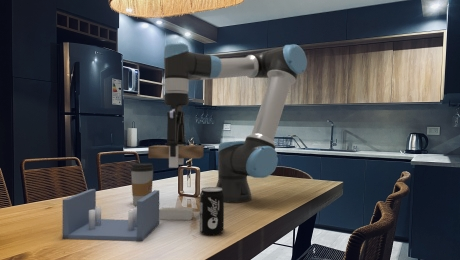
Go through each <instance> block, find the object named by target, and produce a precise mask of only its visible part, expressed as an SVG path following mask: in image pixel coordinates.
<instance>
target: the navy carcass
mask: <svg viewBox="0 0 460 260" xmlns="http://www.w3.org/2000/svg"><path fill="white" fill-rule="evenodd" d="M96 190H97V189H96V188H90V189H87V190H85V191H81V192H80V193H77V194H75V195H71V196H69V197H67V198H63V199H62V232H61V233H62V240H63V239H64V240H65V239H67V240H68V239H69V240H94V241H97V240H98V241H128V242H129V241H133V242H143V241H145V239H146V238H147V237H149V235H150V234H151V233H152V232H153V231H154V230H155V229H156V228H157V227H158V226H159V225H160V219H159V209H160V190H159V189H157V190H156V189H155V190H152V192H151V193H149V194H148V195H146V196H145V197H143V198H141V199H140V200H138V201H137V206H136V207H133V208H132V210H128V214H127V216H128V219H115V218H114V219H109V218H108V219H107V218H102V206H96V204H97V203H96V201H97V199H96V198H97V194H96V193H97V191H96Z"/></svg>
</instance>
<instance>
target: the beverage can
mask: <svg viewBox="0 0 460 260" xmlns="http://www.w3.org/2000/svg"><path fill="white" fill-rule="evenodd" d="M224 208H225V202H224V194H223V192H222V188H219V187H216V186H208V187H207V186H206V187H202V188H201V191H200V193H199V231H200V232H201V234H202V235H204V236H218V235H221V234H222V232H224V230H225V229H224V228H225V226H224V225H225V224H224V223H225V222H224V221H225V220H224V217H225V216H224V215H225V214H224V213H225V210H224Z"/></svg>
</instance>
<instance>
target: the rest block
mask: <svg viewBox="0 0 460 260" xmlns="http://www.w3.org/2000/svg"><path fill="white" fill-rule="evenodd" d="M192 219H193V207H159V220H168V221H170V220H171V221H173V220H174V221H175V220H176V221H177V220H178V221H191V220H192Z"/></svg>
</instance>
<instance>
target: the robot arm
mask: <svg viewBox="0 0 460 260" xmlns="http://www.w3.org/2000/svg"><path fill="white" fill-rule="evenodd" d="M163 61H164V62H163V67H164V69H163V70H164V75H163V76H164V77H163V79H164V82H162V86H164V92H165V93H164V95H163V97H164V99H163V100H164V105H165V106H166V107H170V109H169V110H167V112H166V113H167V115H166V116H167V127H166V128H167V130H166V131H167V132H166V134H167V136H166V143H165V145H166V146H169V158H168V168H169V169H170V168H176V169H177V168H179V165H180V166H181V165H183V166H184V164H185V163H184V161H185V158H178V146H177V145H187V141H186V137H185V136H186V132H185V131H186V130H185V128H186V127H185V115H186V114H185V112H184V111H183V107H187V106H189V94H188V93H189V90H190V89H189V87H190V86H189V85H190V84H189V83H190V82H193V81H194V82H195V81H204V80H214V79H215V80H217V79H228V78H239V77H247V78H249V79H256V78H257V79H258V78H259V79H269V80H268V83H267V85H266V89H265V92H264V94H263V97H262V101H261V104H260V107H259V111H258V112H257V116H256V119H255V121H254V124H253V129H252V132H251V133H250V135H247V136H246V137H245V140H235V141H234V140H233V141H226V142H221V143H219V145H218V151H217V154H218V155H217V157H218V159H217V164H218V165H217V168H218V169H217V170H218V171H217V172H218V177H217V178H218V179H217V183H216V186H215V187H219V188H222V192H223V194H224V203H242V202H243V203H244V202H245V203H246V202H248V201H251V200H252V191H251V189H250V185H249V183H248V177H251V178H256V179H257V178H258V179H263V178H264V179H265V178H267V177H268V176H270V175H272V174H273V173H274V172H275V170H276V169H277V166H278V163H279V157H278V153H277V151H276V148H277V147H276V144H275V141H274V140H275V136H276V133H277V129H278V126H279V123H280V120H281V116H282V113H283V110H284V107H285V103H286V102H287V97H288V94H289V91H290V88H291V86H292V85H294V84H296V81H297V77H298V75H301V74H302V73H304V72H305V71H306V69H307V66H308V59H307V56H306V53H305V51H304V50H303V49H302V47H301V46H300V45H297V44H296V43H295V44H294V43H293V44H285V45H284V46H281V47H277V48H273V49H269V50H266V51H263V52H260V53H255V54H248V55H246V56H245V57H232V58H228V57H226V58H219V57H218V56H216V55H212V54H203V53H197V52H192V51H190V49H189V45H188V44H187V43H183V42H178V41H177V42H176V41H175V42H168V43H166V45H165V46H164V52H163Z"/></svg>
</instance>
